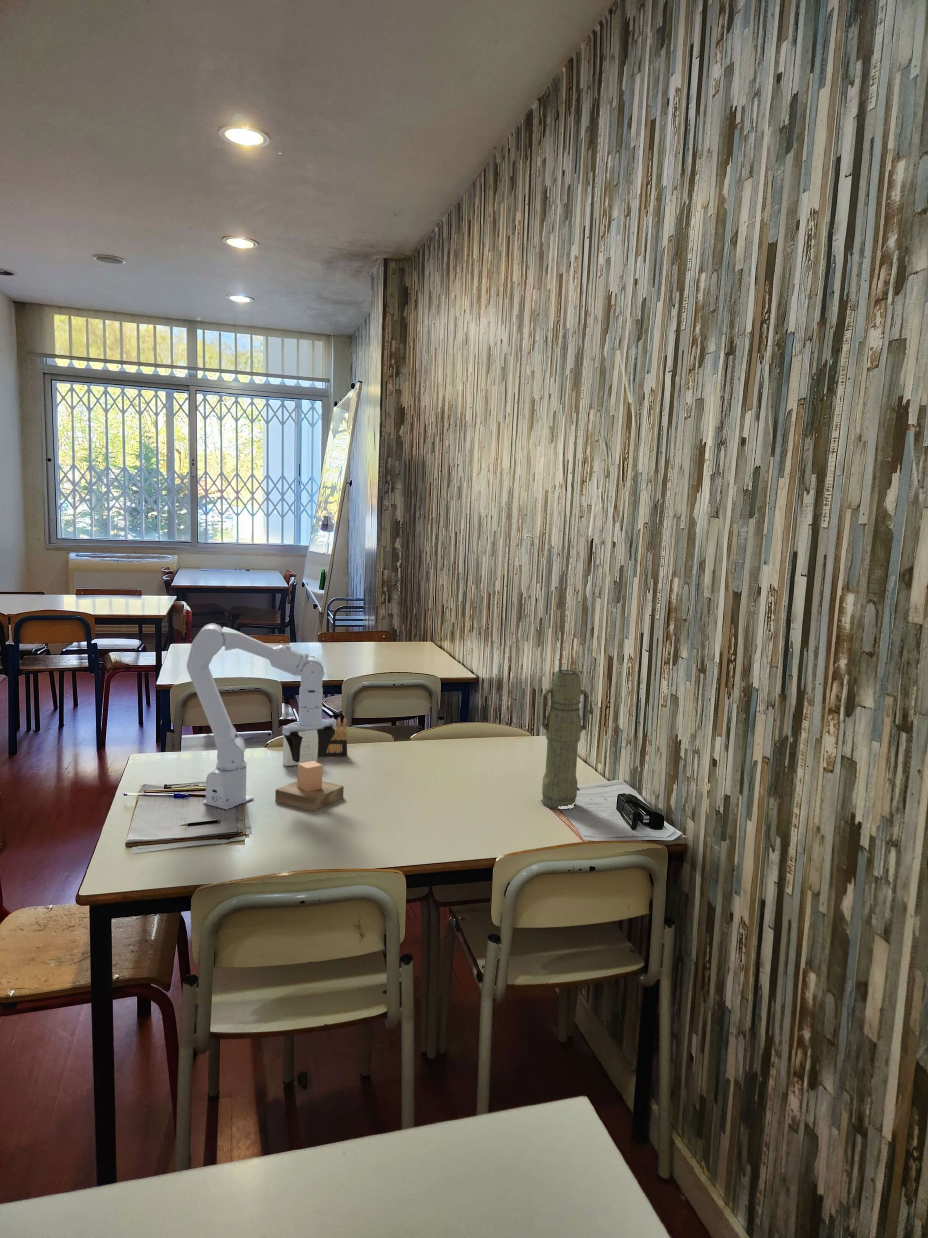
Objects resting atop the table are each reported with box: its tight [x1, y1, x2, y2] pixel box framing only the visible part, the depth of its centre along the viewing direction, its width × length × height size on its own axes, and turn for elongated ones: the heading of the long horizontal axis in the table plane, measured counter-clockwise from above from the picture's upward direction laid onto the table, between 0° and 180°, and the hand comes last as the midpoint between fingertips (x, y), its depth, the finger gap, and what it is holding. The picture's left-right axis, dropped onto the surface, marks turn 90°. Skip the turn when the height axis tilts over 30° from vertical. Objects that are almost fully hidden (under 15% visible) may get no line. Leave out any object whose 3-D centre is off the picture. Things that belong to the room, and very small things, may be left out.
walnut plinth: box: [274, 780, 344, 812], centre depth 199 cm, size 12×12×3 cm
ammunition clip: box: [317, 716, 348, 758], centre depth 237 cm, size 11×2×12 cm, turn 101°
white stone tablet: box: [282, 721, 319, 767], centre depth 228 cm, size 10×4×12 cm, turn 123°
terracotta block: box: [296, 761, 324, 792], centre depth 199 cm, size 4×4×6 cm
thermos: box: [540, 669, 590, 810], centre depth 203 cm, size 9×12×35 cm
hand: (309, 758), depth 199 cm, fingers open, 7 cm apart
